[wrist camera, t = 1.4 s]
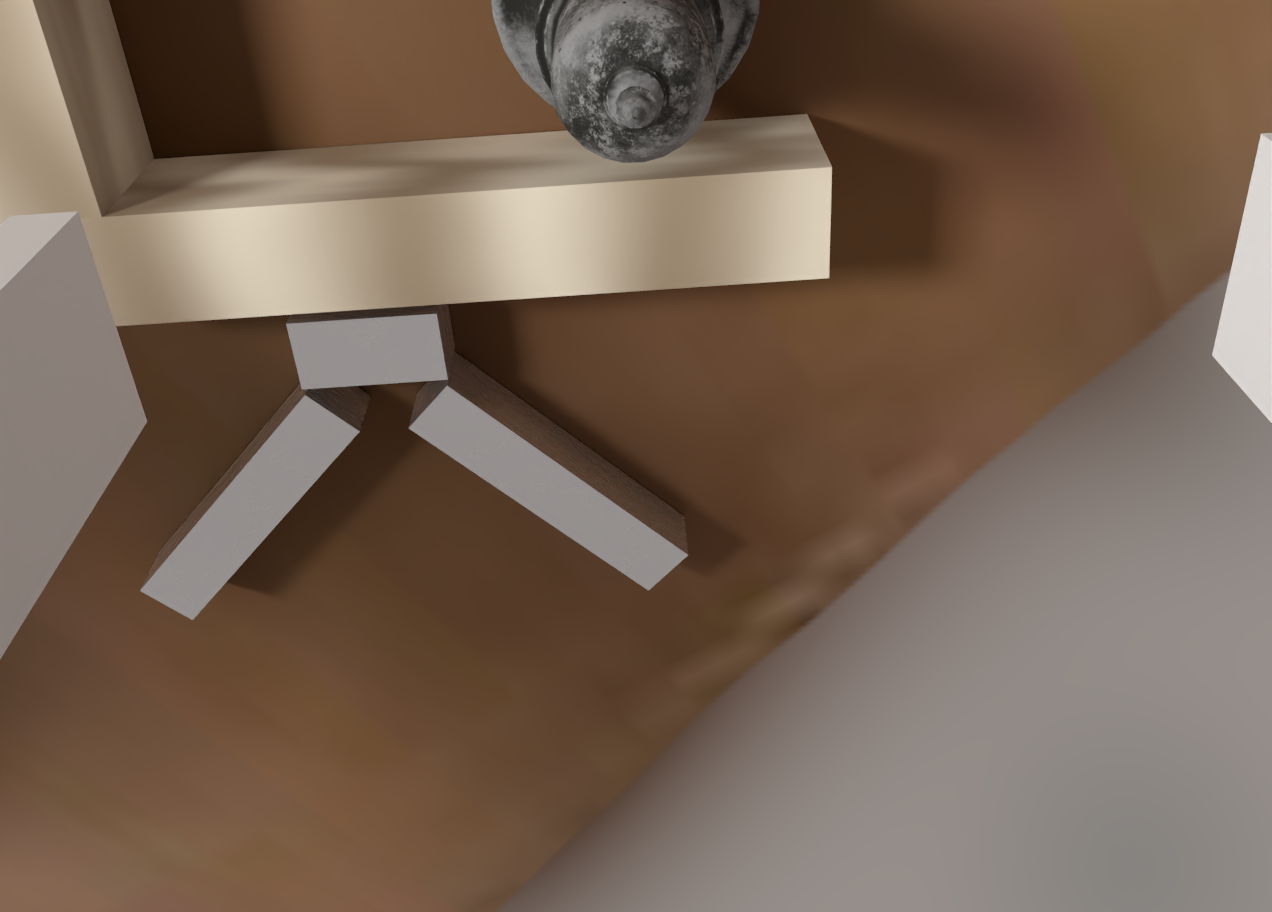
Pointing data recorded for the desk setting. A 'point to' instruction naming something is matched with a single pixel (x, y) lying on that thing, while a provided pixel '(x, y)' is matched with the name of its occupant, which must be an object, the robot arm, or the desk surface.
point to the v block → (442, 415)
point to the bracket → (384, 201)
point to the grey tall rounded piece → (627, 65)
